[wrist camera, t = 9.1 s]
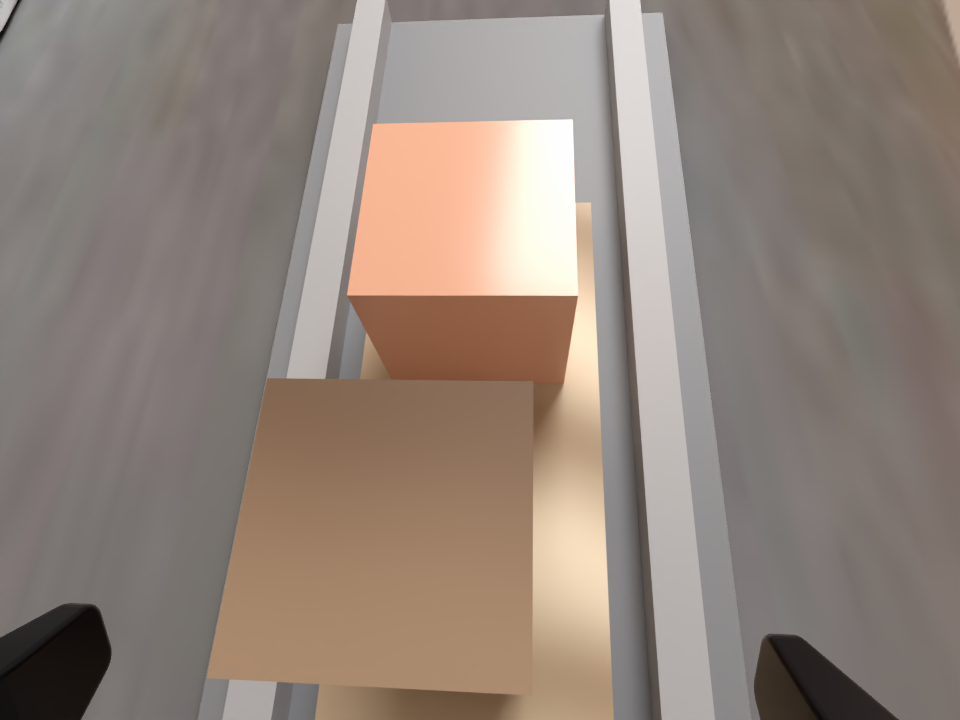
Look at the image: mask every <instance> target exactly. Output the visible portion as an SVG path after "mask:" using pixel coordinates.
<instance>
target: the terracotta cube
mask: <svg viewBox="0 0 960 720" xmlns="http://www.w3.org/2000/svg"><path fill="white" fill-rule="evenodd" d="M347 296H348V298H349V300H350V302H351V304H352V306H353V308H354V310H355V311H356V313H357V315H358V317H359V319H360V321H361V323H362V325H363V326H364V328H365V330H366V332H367V334H368V336H369V338H370V340H371V341H372V343H373V345H374V347H375V349H376V351H377V353H378V355H379V356H380V358H381V360H382V362H383V364H384V366H385V368H386V370H387V372H388V373H389V375H390V377H391V379H392V380H459V381H533V383H536V384H564V380H565V373H566V367H567V361H568V355H569V349H570V343H571V337H572V330H573V324H574V318H575V312H576V306H577V300H578V275H577V242H576V210H575V178H574V145H573V119H569V120H524V121H479V122H434V123H388V124H373V128H372V134H371V141H370V147H369V154H368V161H367V167H366V174H365V180H364V187H363V194H362V200H361V207H360V213H359V220H358V226H357V233H356V240H355V246H354V253H353V259H352V266H351V272H350V279H349V286H348V292H347Z"/></svg>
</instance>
